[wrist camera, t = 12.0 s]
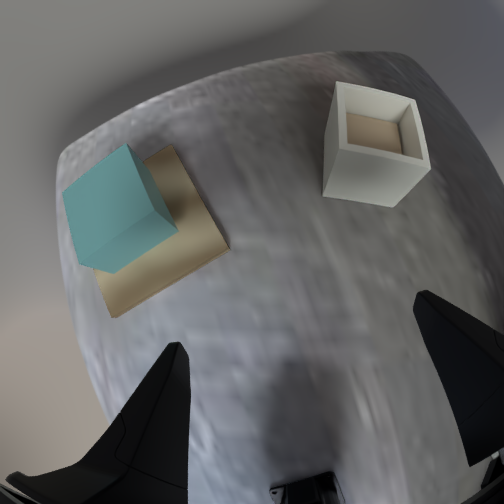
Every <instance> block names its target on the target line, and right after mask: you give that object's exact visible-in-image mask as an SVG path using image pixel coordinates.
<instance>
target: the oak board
mask: <svg viewBox="0 0 504 504" xmlns="http://www.w3.org/2000/svg"><path fill="white" fill-rule="evenodd" d="M143 163H144V165H145V166H146V167H147V168H148V169H149V170H150V172H151V175H152V177H153V179H154V181H155V183H156V185H157V187H158V189H159V192H160V194H161V196H162V198H163V200H164V202H165V204H166V206H167V208H168V210H169V212H170V214H171V216H172V218H173V220H174V222H175V224H176V226H177V228H178V230H179V232H177V233H175V234H174V235H172V236H171V237H169V238H168V239H166V240H164V241H163V242H161V243H160V244H158V245H157V246H155V247H154V248H152V249H150V250H149V251H147V252H146V253H144V254H143V255H141V256H140V257H138V258H137V259H135V260H134V261H132V262H131V263H129V264H128V265H126V266H125V267H124V268H122V269H121V270H119V271H118V272H116V273H115V274H112V273H108V272H104V271H101V270H97V269H94V268H93V270H94V273H95V276H96V278H97V281H98V284H99V287H100V290H101V292H102V295H103V298H104V300H105V303H106V305H107V308H108V310H109V313H110V315H111V318H117V317H119V316H121V315H122V314H124V313H125V312H127V311H129V310H130V309H132V308H134V307H135V306H137V305H139V304H140V303H142V302H144V301H145V300H147V299H149V298H150V297H152V296H154V295H155V294H157V293H159V292H160V291H162V290H164V289H165V288H167V287H169V286H170V285H172V284H174V283H176V282H177V281H179V280H181V279H182V278H184V277H186V276H187V275H189V274H191V273H192V272H194V271H196V270H198V269H199V268H201V267H203V266H204V265H206V264H208V263H209V262H211V261H213V260H215V259H216V258H218V257H220V256H221V255H223V254H225V253H226V252H228V251H230V249H229V247H228V245H227V243H226V242H225V240H224V238H223V236H222V235H221V233H220V231H219V229H218V228H217V226H216V224H215V222H214V220H213V219H212V217H211V215H210V213H209V211H208V210H207V208H206V206H205V204H204V202H203V201H202V199H201V197H200V195H199V193H198V192H197V190H196V188H195V186H194V184H193V183H192V181H191V179H190V177H189V175H188V174H187V172H186V170H185V168H184V166H183V164H182V163H181V161H180V159H179V157H178V155H177V153H176V151H175V150H174V148H173V146H172V145H169V146H167V147H166V148H164V149H162V150H161V151H159V152H157V153H156V154H154V155H153V156H151V157H149V158H148V159H146V160H145V161H143Z"/></svg>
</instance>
